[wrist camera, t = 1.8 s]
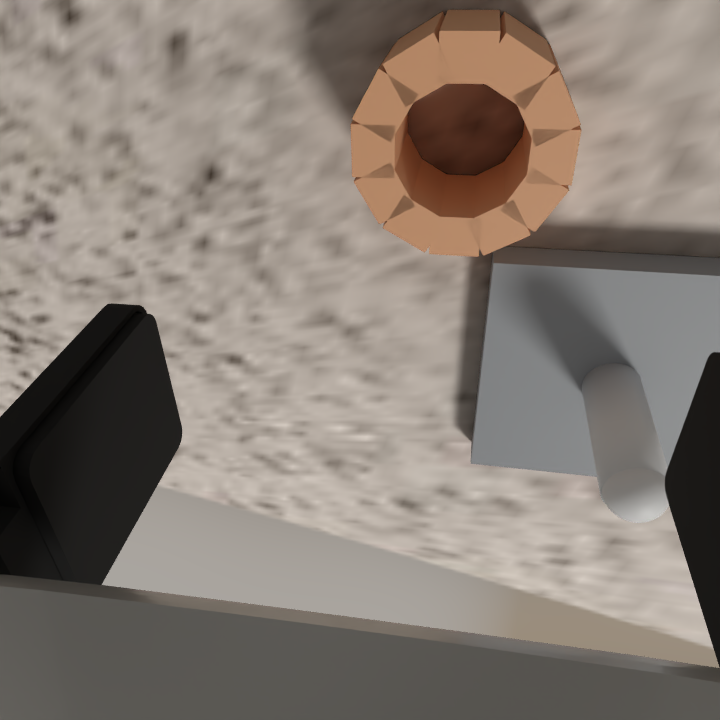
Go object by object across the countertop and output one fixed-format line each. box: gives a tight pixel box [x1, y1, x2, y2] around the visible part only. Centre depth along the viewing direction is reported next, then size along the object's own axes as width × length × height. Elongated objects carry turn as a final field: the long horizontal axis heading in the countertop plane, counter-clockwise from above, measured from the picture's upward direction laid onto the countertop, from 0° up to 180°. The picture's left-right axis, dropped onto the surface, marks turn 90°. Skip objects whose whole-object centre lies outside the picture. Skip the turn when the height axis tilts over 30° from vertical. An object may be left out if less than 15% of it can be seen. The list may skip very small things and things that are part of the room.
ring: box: [351, 10, 581, 257], centre depth 22 cm, size 7×7×4 cm
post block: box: [471, 247, 720, 523], centre depth 25 cm, size 11×11×8 cm
